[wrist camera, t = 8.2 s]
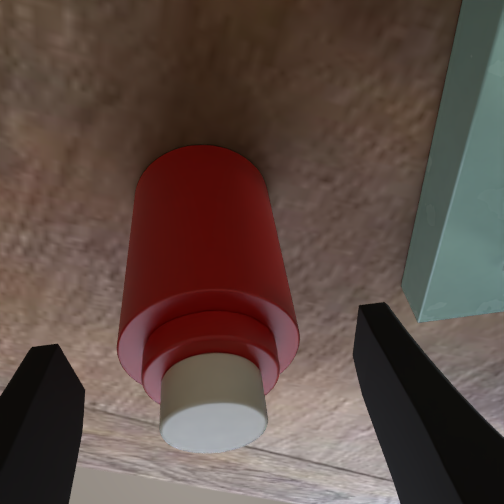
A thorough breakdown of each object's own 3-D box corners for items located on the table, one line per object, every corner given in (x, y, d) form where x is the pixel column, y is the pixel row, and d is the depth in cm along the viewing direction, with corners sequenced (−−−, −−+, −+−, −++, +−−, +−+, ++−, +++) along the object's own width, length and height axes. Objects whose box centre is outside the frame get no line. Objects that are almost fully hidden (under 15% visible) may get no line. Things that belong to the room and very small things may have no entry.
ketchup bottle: (270, 243, 17) (314, 459, 12) (151, 258, 17) (135, 485, 11) (264, 136, 14) (320, 357, 9) (119, 153, 14) (77, 389, 8)
